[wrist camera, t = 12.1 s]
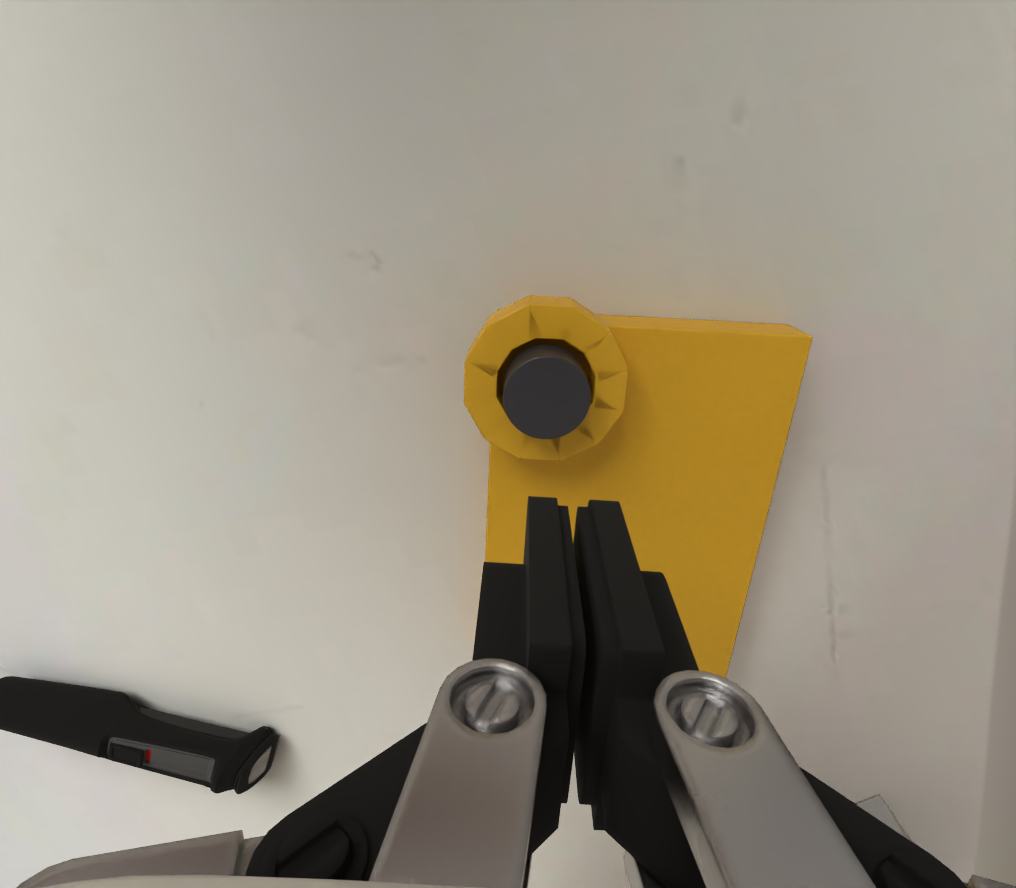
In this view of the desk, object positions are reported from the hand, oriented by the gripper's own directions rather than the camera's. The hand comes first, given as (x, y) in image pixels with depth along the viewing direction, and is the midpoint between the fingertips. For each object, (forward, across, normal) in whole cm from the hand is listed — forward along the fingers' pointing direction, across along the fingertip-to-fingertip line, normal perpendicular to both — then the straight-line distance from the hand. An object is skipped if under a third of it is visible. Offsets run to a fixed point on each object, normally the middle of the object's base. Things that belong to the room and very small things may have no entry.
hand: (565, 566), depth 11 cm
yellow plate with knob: (+15, -4, +7) cm, 17 cm away
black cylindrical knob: (+11, 0, 0) cm, 11 cm away
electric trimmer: (+15, +21, +22) cm, 34 cm away
